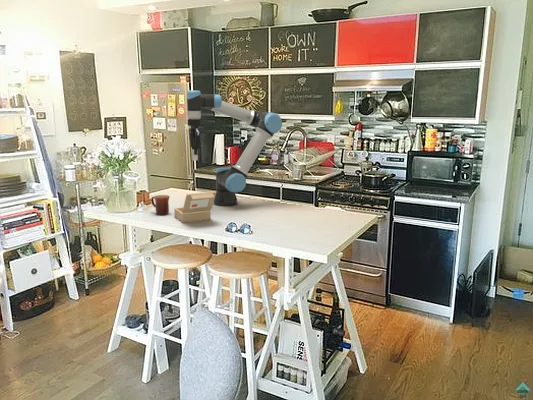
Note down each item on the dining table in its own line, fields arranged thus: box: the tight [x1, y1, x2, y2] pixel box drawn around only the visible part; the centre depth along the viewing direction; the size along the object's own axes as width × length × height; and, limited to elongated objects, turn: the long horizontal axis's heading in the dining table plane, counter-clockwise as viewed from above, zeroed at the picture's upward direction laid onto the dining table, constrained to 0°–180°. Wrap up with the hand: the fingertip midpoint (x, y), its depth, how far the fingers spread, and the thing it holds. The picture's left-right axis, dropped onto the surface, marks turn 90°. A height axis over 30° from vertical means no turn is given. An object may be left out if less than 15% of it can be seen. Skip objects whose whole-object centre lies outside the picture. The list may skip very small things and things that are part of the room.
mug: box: [150, 194, 171, 216], centre depth 258 cm, size 12×9×10 cm
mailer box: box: [174, 206, 212, 224], centre depth 249 cm, size 16×14×5 cm
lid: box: [182, 191, 216, 214], centre depth 237 cm, size 16×14×4 cm
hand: (195, 160), depth 257 cm, fingers closed
